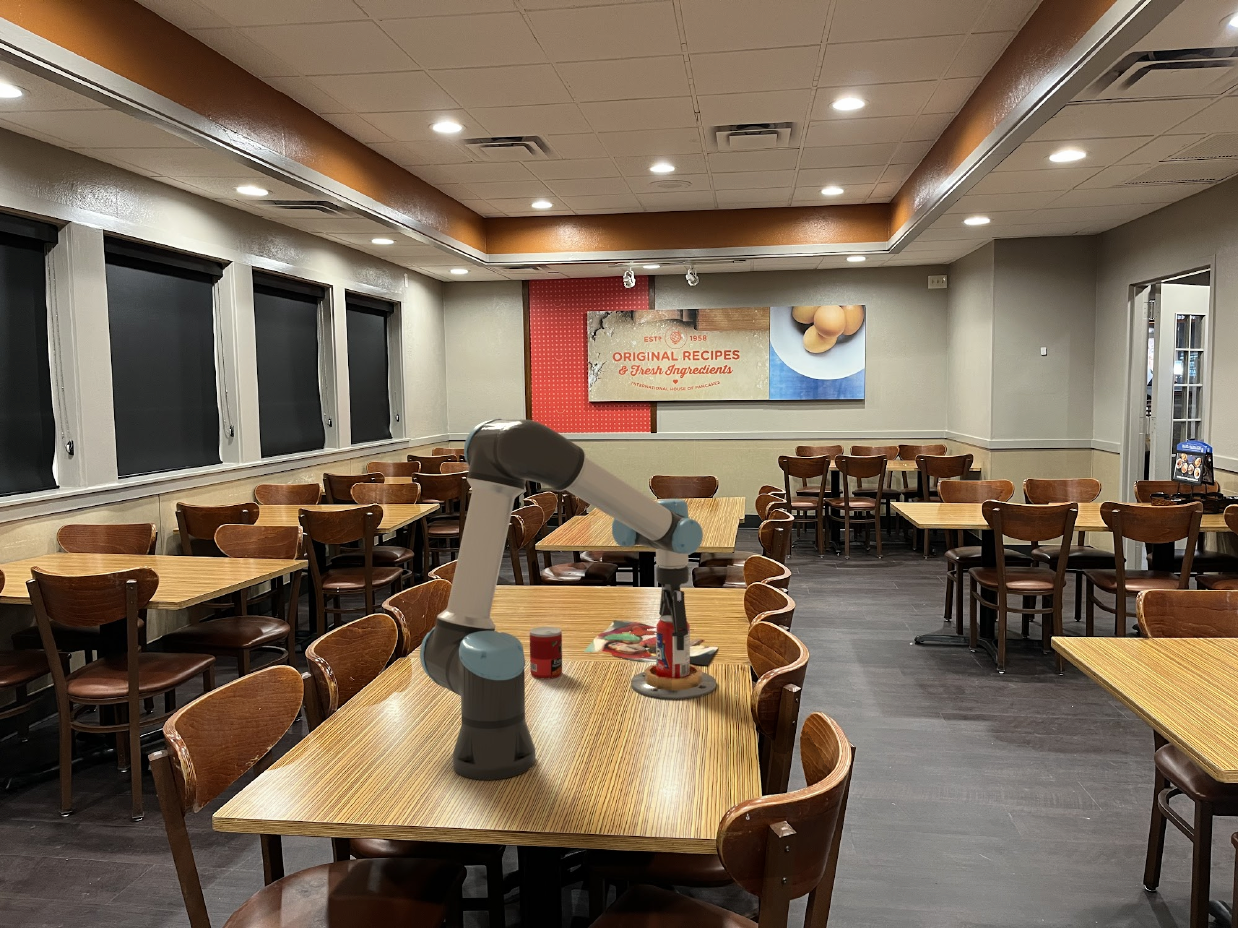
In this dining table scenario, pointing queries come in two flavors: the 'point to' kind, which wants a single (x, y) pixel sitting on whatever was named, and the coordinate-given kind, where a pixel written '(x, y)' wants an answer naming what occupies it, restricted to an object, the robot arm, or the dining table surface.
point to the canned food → (546, 652)
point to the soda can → (670, 650)
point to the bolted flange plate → (673, 684)
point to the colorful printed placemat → (641, 644)
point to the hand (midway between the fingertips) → (673, 655)
